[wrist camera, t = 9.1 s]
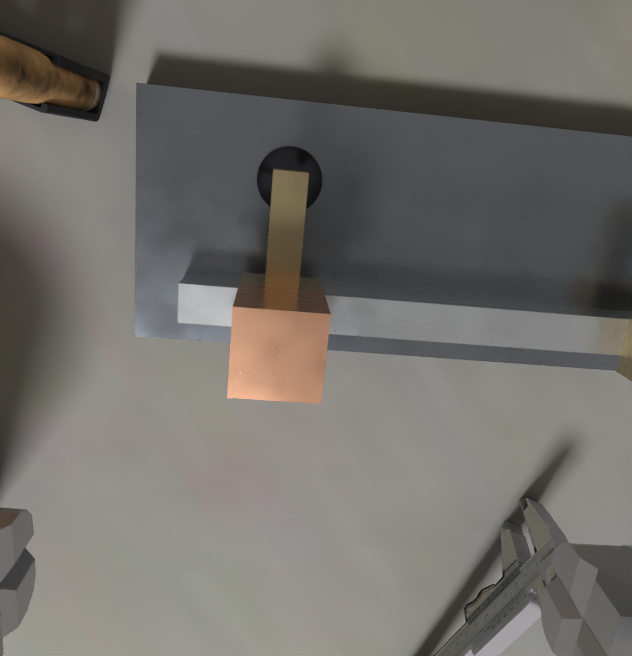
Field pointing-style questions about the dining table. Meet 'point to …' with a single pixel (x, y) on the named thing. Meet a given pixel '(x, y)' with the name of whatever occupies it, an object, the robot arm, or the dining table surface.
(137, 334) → the bolt plate
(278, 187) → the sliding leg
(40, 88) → the ammunition clip
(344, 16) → the dining table surface
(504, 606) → the caliper
